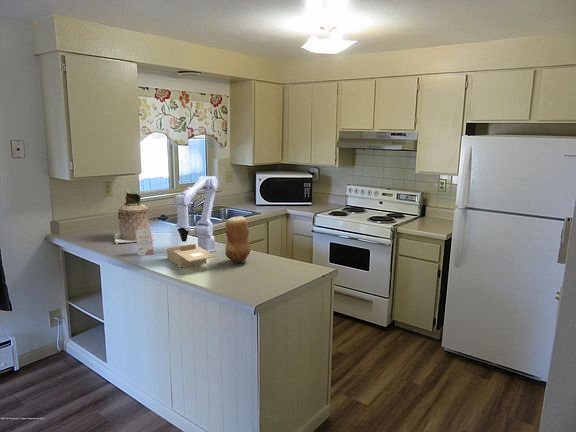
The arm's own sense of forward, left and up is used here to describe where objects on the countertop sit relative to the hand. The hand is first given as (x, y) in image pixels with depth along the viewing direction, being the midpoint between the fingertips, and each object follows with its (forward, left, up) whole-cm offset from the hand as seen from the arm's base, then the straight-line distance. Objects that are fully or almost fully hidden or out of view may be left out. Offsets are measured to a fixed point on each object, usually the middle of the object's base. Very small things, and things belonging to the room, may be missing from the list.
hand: (184, 241), depth 231 cm
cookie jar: (+9, -62, -11) cm, 64 cm away
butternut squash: (-22, +21, -11) cm, 32 cm away
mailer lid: (0, +14, -4) cm, 14 cm away
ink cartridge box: (+14, -23, -11) cm, 29 cm away
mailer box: (0, +3, -10) cm, 11 cm away
